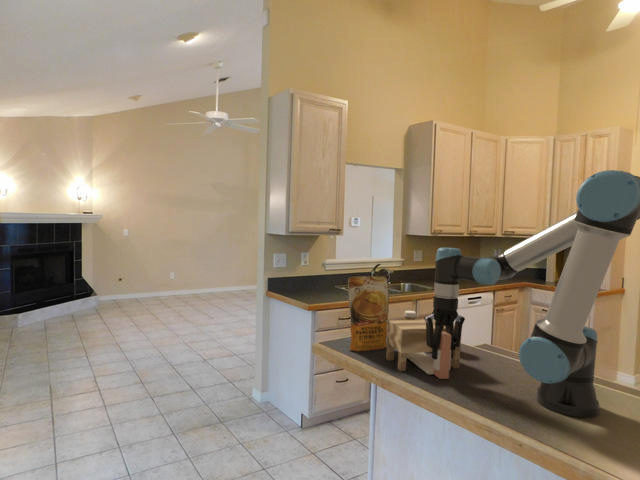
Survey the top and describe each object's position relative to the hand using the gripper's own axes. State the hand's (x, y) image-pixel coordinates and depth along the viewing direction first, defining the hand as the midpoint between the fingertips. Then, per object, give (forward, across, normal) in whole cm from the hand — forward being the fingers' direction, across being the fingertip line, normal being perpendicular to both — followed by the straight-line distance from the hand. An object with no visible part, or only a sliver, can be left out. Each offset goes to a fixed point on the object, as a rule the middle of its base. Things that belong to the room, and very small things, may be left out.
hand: (441, 368), depth 131 cm
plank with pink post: (+3, 0, -9) cm, 9 cm away
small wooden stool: (+3, 0, -13) cm, 13 cm away
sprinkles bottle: (+3, -5, -34) cm, 35 cm away
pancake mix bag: (+3, +14, -31) cm, 34 cm away
